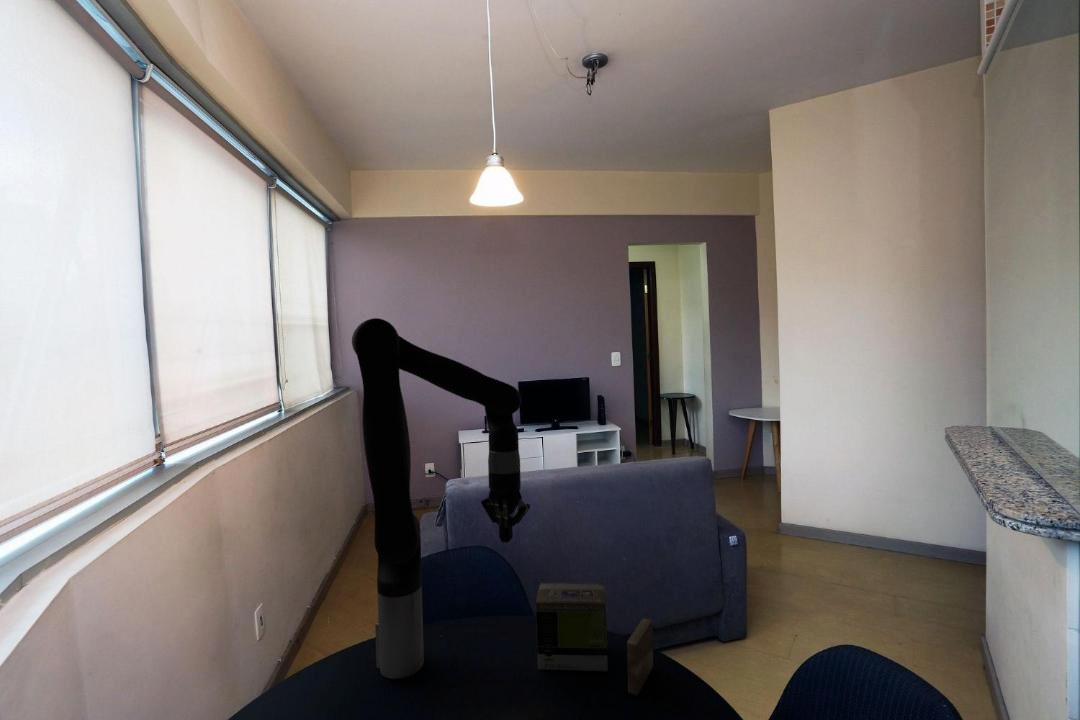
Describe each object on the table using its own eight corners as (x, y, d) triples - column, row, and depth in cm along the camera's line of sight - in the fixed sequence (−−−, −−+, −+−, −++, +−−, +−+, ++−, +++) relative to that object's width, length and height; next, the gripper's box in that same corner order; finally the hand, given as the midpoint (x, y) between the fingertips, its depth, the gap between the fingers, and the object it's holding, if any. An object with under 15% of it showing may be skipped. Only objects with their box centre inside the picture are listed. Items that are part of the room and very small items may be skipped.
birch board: (627, 692, 99) (626, 642, 98) (644, 664, 107) (643, 618, 107) (637, 695, 98) (636, 644, 97) (653, 666, 106) (652, 620, 106)
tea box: (606, 645, 114) (605, 581, 114) (608, 673, 104) (606, 603, 104) (541, 643, 116) (539, 580, 116) (536, 671, 106) (535, 601, 106)
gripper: (472, 469, 118) (474, 542, 118) (519, 475, 111) (521, 552, 112) (490, 462, 124) (492, 531, 125) (536, 467, 118) (538, 540, 118)
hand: (506, 541), depth 118 cm, fingers closed
